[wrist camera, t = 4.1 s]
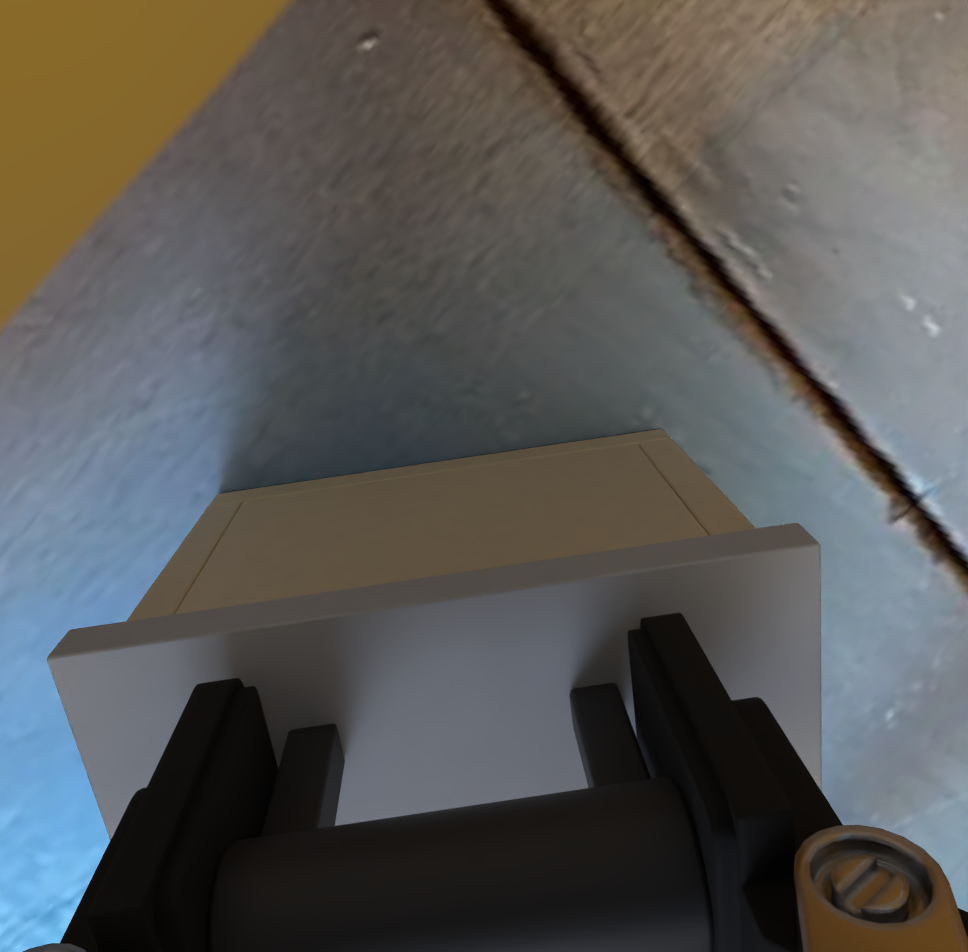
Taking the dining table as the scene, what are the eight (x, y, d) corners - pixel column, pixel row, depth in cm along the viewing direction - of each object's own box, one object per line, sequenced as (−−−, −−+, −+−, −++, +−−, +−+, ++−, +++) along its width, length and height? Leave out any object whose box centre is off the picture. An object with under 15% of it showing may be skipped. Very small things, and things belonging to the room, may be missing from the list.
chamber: (216, 493, 20) (87, 673, 13) (663, 427, 20) (796, 568, 13) (321, 907, 24) (272, 1226, 17) (692, 851, 24) (805, 1144, 17)
